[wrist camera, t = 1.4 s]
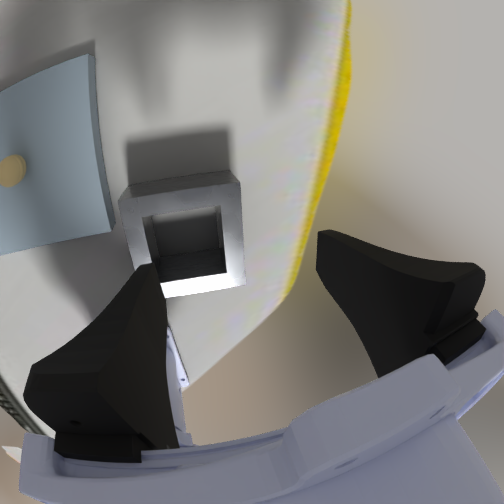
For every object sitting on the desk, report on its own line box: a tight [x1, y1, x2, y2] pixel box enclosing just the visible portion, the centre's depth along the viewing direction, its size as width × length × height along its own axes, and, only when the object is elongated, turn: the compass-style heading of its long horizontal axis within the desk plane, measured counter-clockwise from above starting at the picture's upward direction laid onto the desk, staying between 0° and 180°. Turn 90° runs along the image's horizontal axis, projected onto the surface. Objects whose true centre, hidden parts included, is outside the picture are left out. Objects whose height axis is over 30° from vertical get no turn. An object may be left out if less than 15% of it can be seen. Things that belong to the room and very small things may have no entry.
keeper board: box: [0, 54, 116, 256], centre depth 12 cm, size 12×12×4 cm
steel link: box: [118, 171, 246, 298], centre depth 17 cm, size 7×7×4 cm
